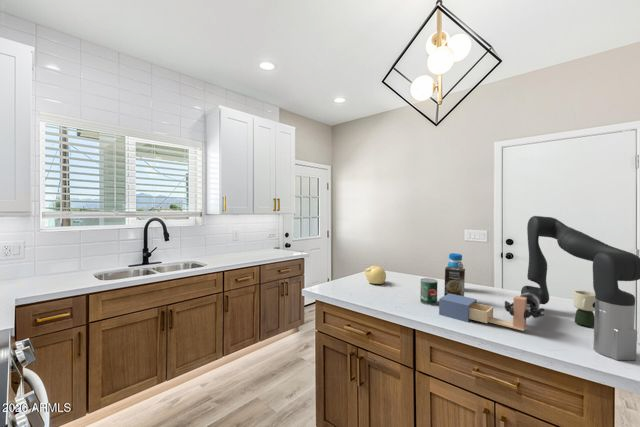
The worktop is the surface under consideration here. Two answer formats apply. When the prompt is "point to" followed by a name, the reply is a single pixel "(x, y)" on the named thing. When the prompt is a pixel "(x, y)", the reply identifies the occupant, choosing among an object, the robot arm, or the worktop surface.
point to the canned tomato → (428, 291)
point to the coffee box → (454, 281)
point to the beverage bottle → (455, 260)
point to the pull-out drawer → (486, 315)
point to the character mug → (584, 307)
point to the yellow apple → (375, 275)
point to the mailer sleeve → (456, 306)
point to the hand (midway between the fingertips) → (518, 314)
